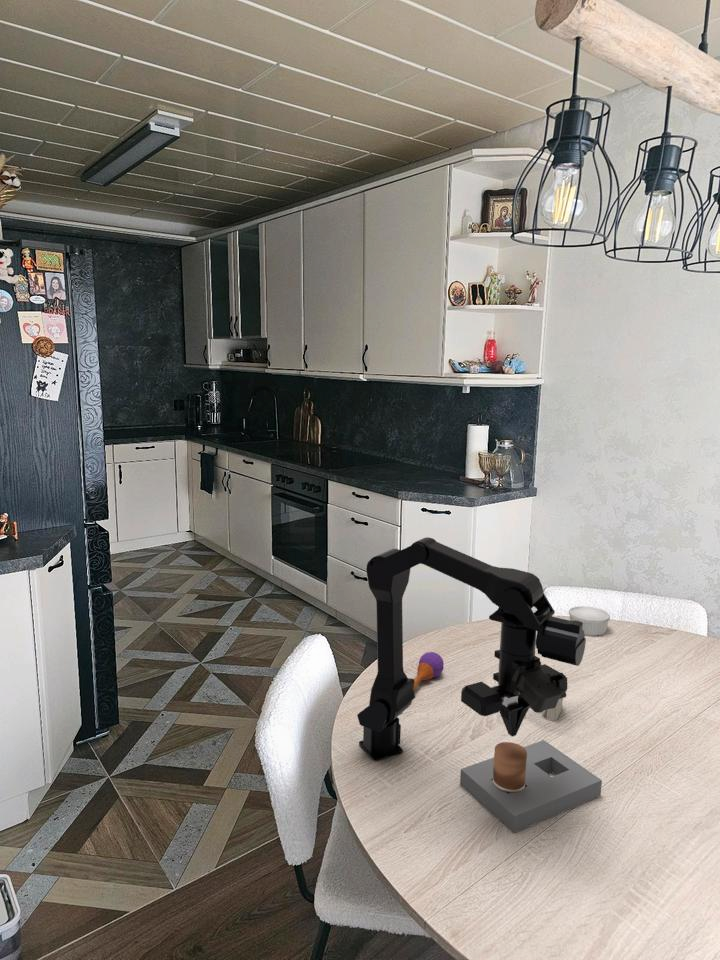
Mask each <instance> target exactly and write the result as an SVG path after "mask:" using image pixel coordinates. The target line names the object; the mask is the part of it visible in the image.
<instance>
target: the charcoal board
mask: <svg viewBox="0 0 720 960" xmlns="http://www.w3.org/2000/svg"><path fill="white" fill-rule="evenodd" d="M522 747H523V748H525V750H526V751H527V761H526V776H525V788H524V789H523V790H522V791H520V792H516V793H509V794H507V793H506V792H505V791H502V790H500V789H498V788H497V787H496V786H495V785H494V784H493V769H494V757H492V758H487V759H486V760H482V761H480V762H478V763H474V764H471V765H468V766H465V767H463V768H460V775H459V777H460V779H459V785H460V786H461V787H463V788H464V789H465V790H466V791H467V792H468V793H469V794H470V795H471V796H472V797H473V798H475V799H476V800H477V801H478V802H479V803H480V804H481V805H482V806H483V807H485V809H487V811H489V812H490V813H491V814H492V815H493V816H494V817H496V818H497V819H498V820H499V821H500V822H501V823H502V824H503V825H504V826H505V827H506V828H508V829H509V830H510V831H511V832H512V833H513V834H514V833H517V832H520V831H521V830H524V829H527V828H528V827H530V826H534V825H536V824H538V823H540V822H543V821H545V820H547V819H550V818H552V817H554V816H557V815H558V814H561V813H563V812H566V811H568V810H571V809H573V808H574V807H577V806H580V805H582V804H585V803H587V802H589V801H592V800H594V799H596V798H598V796H599V797H601V795H602V794H601V793H602V785H603V783H602V782H603V780H602V779H601V778H600V777H598V776H596V775H595V774H593V772H590V771H589V770H588V769H586V768H585V767H583V766H582V765H581V764H579V763H578V762H577V761H575V760H573V758H571V757H569V756H567V754H565V753H564V752H562V751H561V750H559V749H557V748H556V747H555V746H553V745H552V744H551V743H549V742H548V741H546V740H545V739H542V740H539V741H537V742H534V743H531V744H528V745H526V746H522ZM549 773H551V774H553V775H552V776H551V775H550V774H549ZM591 799H592V800H591Z"/></svg>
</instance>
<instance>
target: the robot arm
mask: <svg viewBox="0 0 720 960" xmlns="http://www.w3.org/2000/svg"><path fill="white" fill-rule="evenodd" d="M420 564H421V565H424V566H426V567H429V568H430V569H433V570H434V571H438V572H439V573H442V574H444V575H446V576H447V577H451V578H452V579H454V580H456V581H458V582H462V583H463V584H466V585H467V586H470V587H471V588H474V589H476V590H478V591H480V592H481V593H483V594H484V595H485V596H486V597H487V598H488V600H489V601H490V602H491V603H492V604H493V605H495V606H496V607H498V608H497V609H496V610H495V611H494V612H493V613H491V614H490V615H489V617H488V619H489V620H491V621H494V622H498V623H501V626H500V641H499V642H500V643H499V649H497V650H494V654H493V655H494V656H493V657H495V658H496V659H498V672H494V673H493V674H492V675H493V677H492V680H493V681H495V682H497V685H495V686H492V687H491V686H489V685H487V684H486V683H485V682H484V681H478V682H474V683H471V684H468V685H465V686H463V687H461V693H460V694H461V696H460V701H461V703H463V704H464V705H466V706H467V707H468V708H470V709H471V710H473V711H474V712H475V713H477V714H478V715H479V716H480V717H481V716H482V717H487V716H491V715H494V714H497V713H499V715H500V717H501V719H502V721H503V725H504V726H505V729H506V731H507V734H508V735H509V736H510V737H515V736H517V734H518V732H519V729H520V727H521V725H522V723H523V721H524V719H525V717H526V715H527V713H528V711H529V709H531V710H532V711H533V712H535V713H538V714H539V713H540V714H541V713H543V712H544V711H547V710H548V709H553V708H555V707H556V705H557V703H558V700H559V699H561V698H563V699H564V698H566V697H567V691H568V677H567V676H566V675H565V674H564V673H563V672H561V671H558V670H556V669H555V668H553V667H551V666H549V665H547V664H545V663H543V664H542V661H541V658H540V657H539V656H536V649H537V654H538V655H541V657H542V658H546V659H550V660H554V661H557V662H561V663H565V664H569V665H572V666H576V667H579V666H580V665H581V663H582V660H583V657H584V653H585V649H586V643H587V642H586V641H587V638H586V637H585V636H586V635H585V634H584V630H583V623H582V622H579V621H574V620H570V619H564V618H559V617H555V616H553V615H555V613H556V612H555V609H554V608H553V606H552V604H551V602H550V601H549V599H548V598H547V596H546V595H545V593H544V588H543V587H544V586H543V585H542V582H541V579H540V578H539V577H538V576H537V575H536V574H534V573H531V572H528V571H523V570H520V569H516V568H510V567H509V568H508V567H499V566H494V565H491V564H489V563H486V562H484V561H482V560H480V559H477V558H476V557H473V556H471V555H469V554H465V553H463V552H461V551H459V550H456V549H455V548H451V547H450V546H447V545H445V544H443V543H440V542H439V541H437V540H436V539H435V538H432V537H428V536H427V537H423V538H420V539H419V540H417V541H415V542H413V543H412V544H411V545H410V546H407V547H405V548H403V549H398V548H392V549H388V550H386V551H384V552H382V553H380V554H378V555H376V556H373V557H371V559H370V560H369V561H367V563H366V568H365V569H366V571H365V572H366V577H367V582H368V583H367V584H368V588H369V590H370V592H371V593H372V595H373V597H374V599H375V601H376V605H375V606H376V643H377V644H376V646H377V647H376V648H377V649H376V650H377V651H376V652H377V653H376V654H377V673H376V677H375V679H374V682H373V684H372V686H371V688H370V689H371V690H370V694H369V695H370V696H369V703H368V706H367V707H365V708H363V710H361V711H359V712H358V713H357V715H356V716H357V719H358V723H359V725H360V726H361V727H363V730H362V731H363V733H362V734H363V736H362V737H363V738H362V739H363V740H360V741H359V742H358V745H359V747H360V748H361V749H362V750H364V752H365V753H366V754H367V755H368V756H369V757H370V758H371V759H372V760H373V761H379V760H383V759H386V758H389V757H392V756H396V755H399V754H401V753H403V752H404V749H403V747H401V746H400V745H401V734H402V729H401V728H402V725H401V724H400V718H399V716H400V715H402V714H403V713H404V712H405V711H406V710H407V709H409V707H410V706H411V705H412V703H413V700H414V699H415V698H416V695H415V692H414V691H415V690H414V679H415V678H410V677H409V678H408V676H407V675H406V673H405V671H404V640H403V639H404V638H403V636H404V633H403V598H404V595H405V592H406V590H407V587H408V584H409V582H410V575H411V568H414V567H416V566H418V565H420ZM533 608H535V609H536V610H535V612H534V611H533Z"/></svg>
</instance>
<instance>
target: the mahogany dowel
mask: <svg viewBox="0 0 720 960" xmlns="http://www.w3.org/2000/svg"><path fill="white" fill-rule="evenodd" d="M523 747H524V746H522V745H520V744H518V743H515V742H511V741H510V742H509V741H505V742H504V741H503V742H500V743H498V744H496V745H495V747H494V751H493V752H494V754H493V755H494V756H493V758H494V769H493V784H494V785H495V786H496V787H497V788H498V789H500V790H502V791H505V792H506V793H507V794H509V793H516V792H520V791H522V790H523V789H524V788H525V776H526V761H527V751H526V750H525V748H523Z"/></svg>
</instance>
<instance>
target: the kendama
mask: <svg viewBox="0 0 720 960" xmlns="http://www.w3.org/2000/svg"><path fill="white" fill-rule="evenodd" d="M443 671H444V660H443V658H442V656H441V655H440V654H439V653H438V652H435V651H429V652H425V653H423V654H422V656H420V659H419V660H418V666H417V671H416V677H415V678H413V679H414V691H415V690H416V688H417V687H418V685H419V683H420V682H421V681H425V680H431V679H432V678H437V677H438V676H440V675H441V674H442V672H443Z"/></svg>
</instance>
